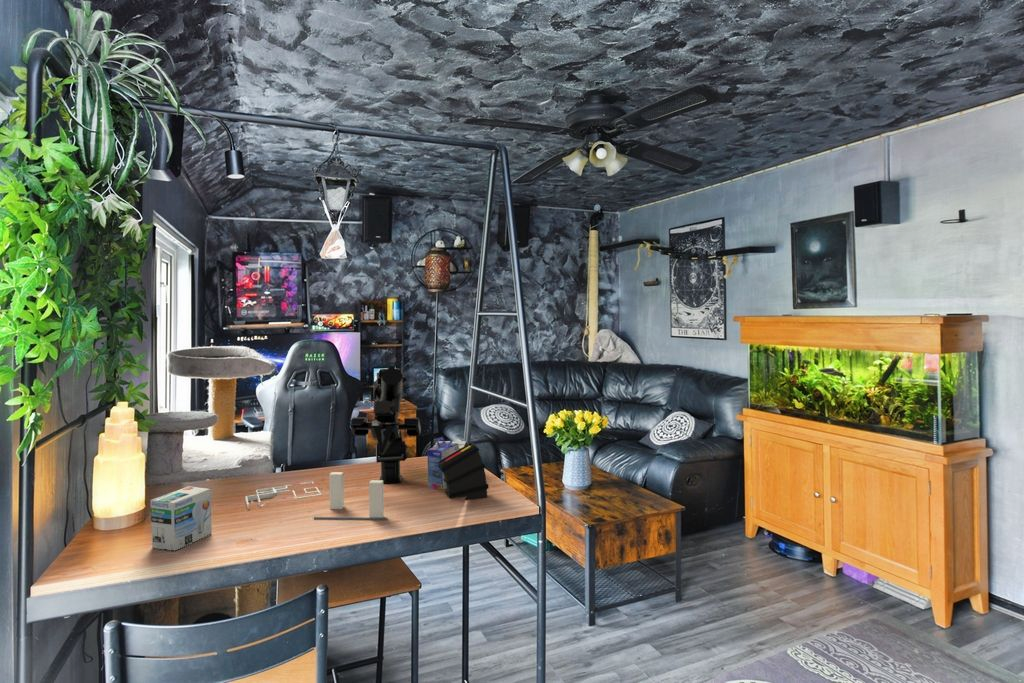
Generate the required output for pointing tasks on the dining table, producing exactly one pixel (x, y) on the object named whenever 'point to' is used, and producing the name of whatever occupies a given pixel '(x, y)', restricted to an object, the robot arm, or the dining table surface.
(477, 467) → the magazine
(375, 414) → the robot arm
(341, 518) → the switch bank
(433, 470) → the ink cartridge box
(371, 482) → the beige rectangular block
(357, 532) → the dining table surface
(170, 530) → the light bulb box
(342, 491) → the cream tall block
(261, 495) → the floor plan model
